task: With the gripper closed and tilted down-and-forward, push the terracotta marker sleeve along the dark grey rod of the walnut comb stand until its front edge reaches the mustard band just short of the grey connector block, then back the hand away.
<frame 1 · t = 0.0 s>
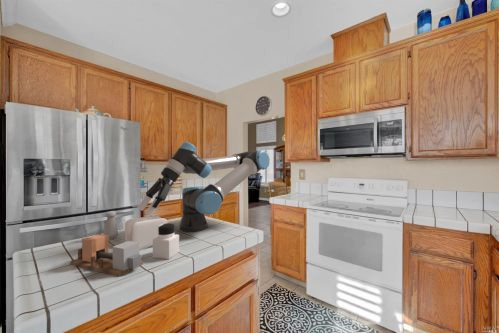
hand: (143, 211, 90), 15 cm above the counter, tool tilted 35°, fingers open, 13 cm apart
cable organizer: (146, 245, 94), on the counter
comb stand: (106, 264, 75), on the counter
sleeve: (95, 247, 77), point 5 cm above the counter, slide at 0.0 cm
salt shaker: (110, 238, 102), on the counter
band: (118, 257, 73), point 3 cm above the counter
connector: (128, 255, 71), point 5 cm above the counter
medicine bottle: (166, 255, 83), on the counter
dark grey rod: (101, 254, 76), point 3 cm above the counter
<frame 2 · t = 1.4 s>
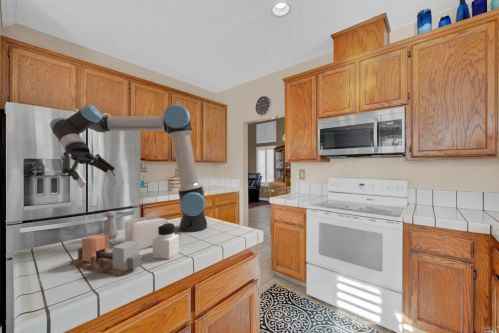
hand: (100, 183, 85), 28 cm above the counter, tool tilted 45°, fingers open, 12 cm apart
nothing on the counter moved.
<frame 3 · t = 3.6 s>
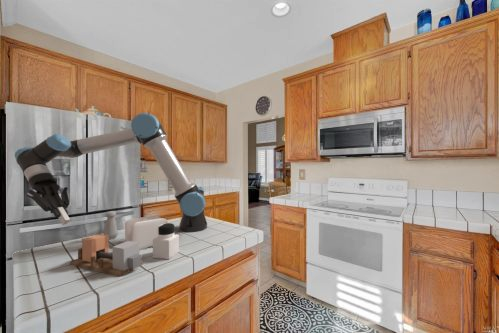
hand: (66, 222, 82), 13 cm above the counter, tool tilted 45°, fingers closed
nothing on the counter moved.
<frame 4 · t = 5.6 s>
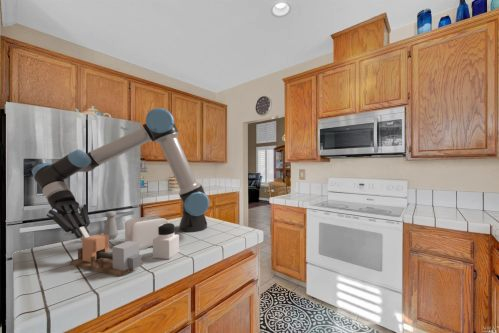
hand: (88, 242, 78), 7 cm above the counter, tool tilted 45°, fingers closed
sleeve: (96, 247, 77), point 5 cm above the counter, slide at 0.1 cm, touching gripper
everything else where it was.
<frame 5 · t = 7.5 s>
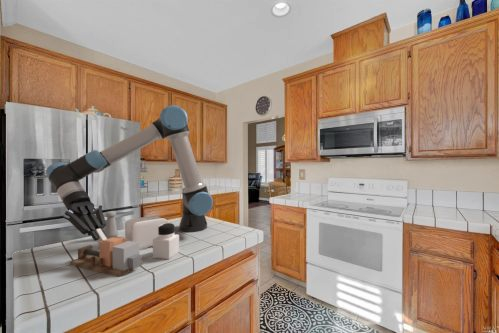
hand: (105, 245, 75), 7 cm above the counter, tool tilted 45°, fingers closed
sleeve: (113, 250, 74), point 5 cm above the counter, slide at 8.7 cm, touching gripper
everything else where it was.
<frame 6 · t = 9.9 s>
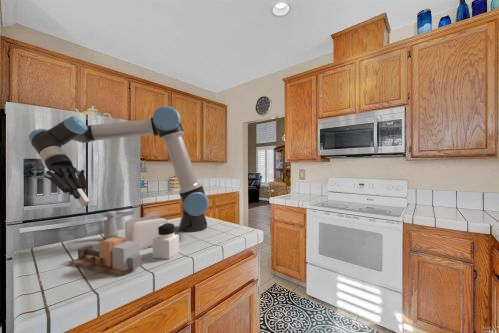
hand: (86, 203, 79), 21 cm above the counter, tool tilted 45°, fingers closed
sleeve: (113, 250, 74), point 5 cm above the counter, slide at 8.8 cm
everything else where it was.
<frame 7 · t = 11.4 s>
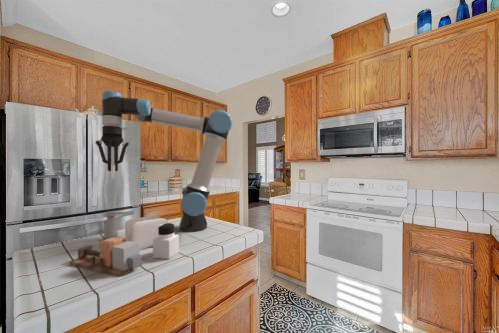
hand: (112, 178, 96), 29 cm above the counter, tool pointing down, fingers closed
nothing on the counter moved.
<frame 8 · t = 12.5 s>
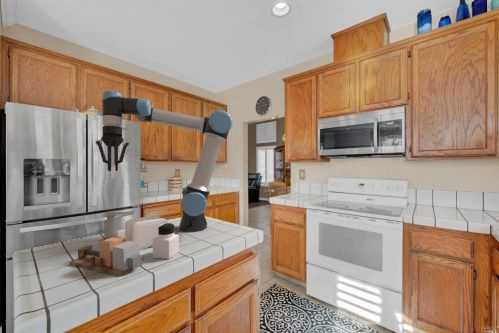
hand: (112, 178, 96), 29 cm above the counter, tool pointing down, fingers closed
nothing on the counter moved.
at the end: sleeve slide at 8.8 cm; the gripper is holding nothing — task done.
